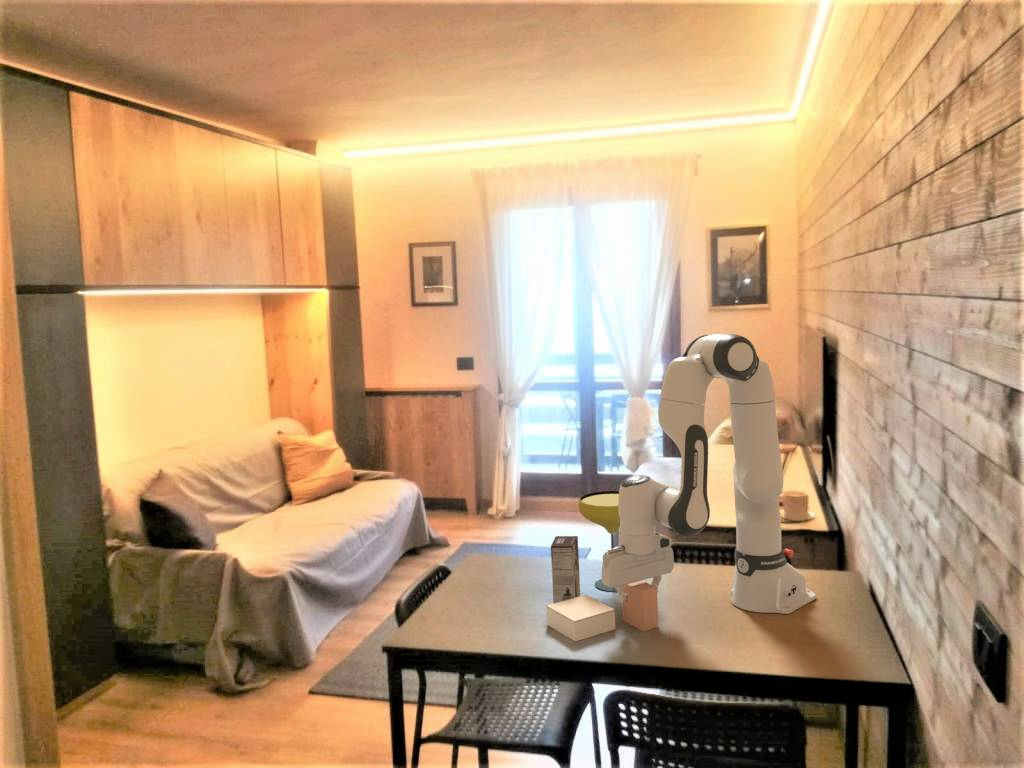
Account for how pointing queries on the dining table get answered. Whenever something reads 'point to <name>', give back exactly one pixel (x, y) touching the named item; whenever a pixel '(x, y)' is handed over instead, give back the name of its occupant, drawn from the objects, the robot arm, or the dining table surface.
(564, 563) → the coffee box
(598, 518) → the cocktail glass
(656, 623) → the carton
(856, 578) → the dining table surface
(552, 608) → the podium
